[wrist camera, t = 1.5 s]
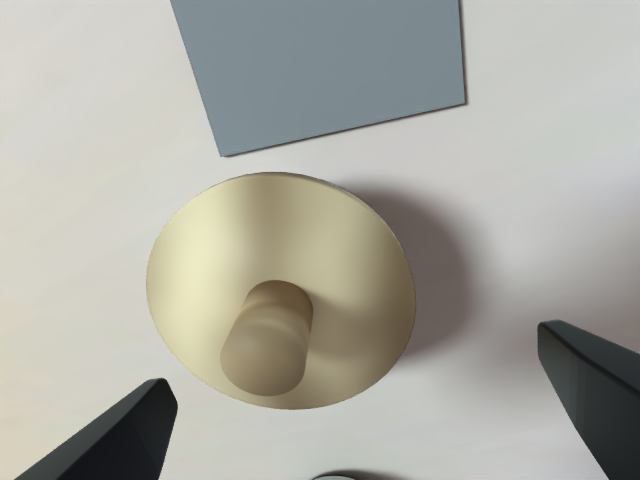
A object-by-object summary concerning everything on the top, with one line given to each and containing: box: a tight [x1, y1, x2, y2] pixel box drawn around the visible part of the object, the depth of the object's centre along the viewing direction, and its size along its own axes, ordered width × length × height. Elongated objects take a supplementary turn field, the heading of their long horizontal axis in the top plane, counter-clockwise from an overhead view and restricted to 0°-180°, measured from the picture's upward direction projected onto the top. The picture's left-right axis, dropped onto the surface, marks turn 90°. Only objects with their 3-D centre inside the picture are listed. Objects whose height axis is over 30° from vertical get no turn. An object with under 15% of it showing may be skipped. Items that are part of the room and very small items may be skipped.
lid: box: [146, 172, 416, 410], centre depth 16 cm, size 12×12×4 cm
